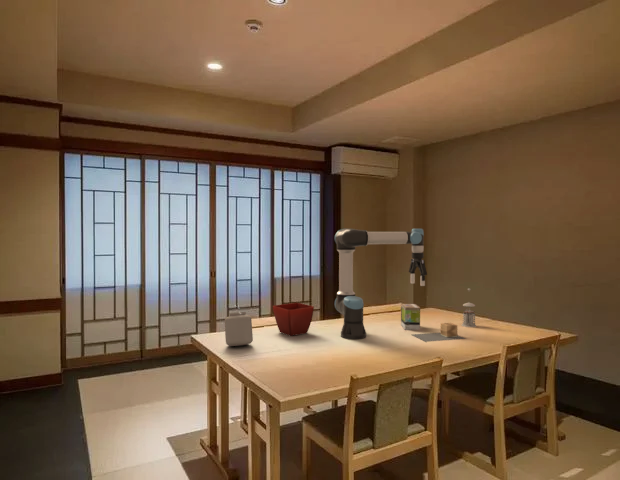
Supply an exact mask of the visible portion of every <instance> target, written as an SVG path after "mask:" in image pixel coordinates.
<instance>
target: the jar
mask: <svg viewBox="0 0 620 480" xmlns="http://www.w3.org/2000/svg"><path fill="white" fill-rule="evenodd" d="M234 307H236V305H234ZM237 308H238V309H240V307H239V305H238V307H237ZM224 334H225V335H224V337H225V344H226V345H227V346H229V347H234V346H235V347H236V346H245V345H249V344H252V343H253V342H254V340H253V339H254V336H253V335H254V334H253V322H252V316H250V315H248V314H247V313H246V311H241V312H240V311H239V312H231V313H229V316H227V317H225V319H224Z"/></svg>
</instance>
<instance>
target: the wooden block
mask: <svg viewBox="0 0 620 480" xmlns="http://www.w3.org/2000/svg"><path fill="white" fill-rule="evenodd" d="M440 333H441V335H442V336H445V337H457V335H458V324H455V323H452V322H444V323H443V322H441V323H440Z"/></svg>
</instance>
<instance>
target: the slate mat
mask: <svg viewBox="0 0 620 480" xmlns="http://www.w3.org/2000/svg"><path fill="white" fill-rule="evenodd" d="M411 336H413V337H414V338H416V339H419V340H420V341H423V342H425V343H427V342H442V341H454V340H467V338H466V337H463V336H461V335H458V334H457V337H445V336H442V335H441V332H430V333H413V334H411Z"/></svg>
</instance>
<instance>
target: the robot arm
mask: <svg viewBox="0 0 620 480" xmlns="http://www.w3.org/2000/svg"><path fill="white" fill-rule="evenodd" d="M424 233H425V232H424V229H423V228H412V229H411V231H368V230H367V229H356V228H341V229H338V230H337V232H336V233H335V235H334V242H335V244H336V251H337V252H338V254H339V255H338V257H339V258H338V259H339V260H338V261H339V262H338V265H339V266H338V268H339V269H338V282H339V283H338V285H339V286H338V291H337V292H336V298H335V300H334V308H335V310H336V311H337V312H338V313H340V314H341V315H343V324H342V328H341V331H340V337H341V338H343V339H348V340H361V339H365V338H367V331H366V329H365V325H364V299H363V298H362V297H360V296H356V292H354V266H353V265H354V252H355V251H356V248H357V247H367V246H368V245H403V244H404V245H411V259H410V264H409V268H408V269H409V270H408V273H410V284H416V281H415V280H416V277H415V276H416V269H417V268H418V270H419V273H420V281H419V282H420V283H419V284H420V287H425V286H426V276H427V275H428V273H427V268H426V264H425V259H424V258H425V257H424V254H425V253H424V249H425V248H424V247H425V246H424V244H425V241H424V239H425V238H424V236H425V234H424Z"/></svg>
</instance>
